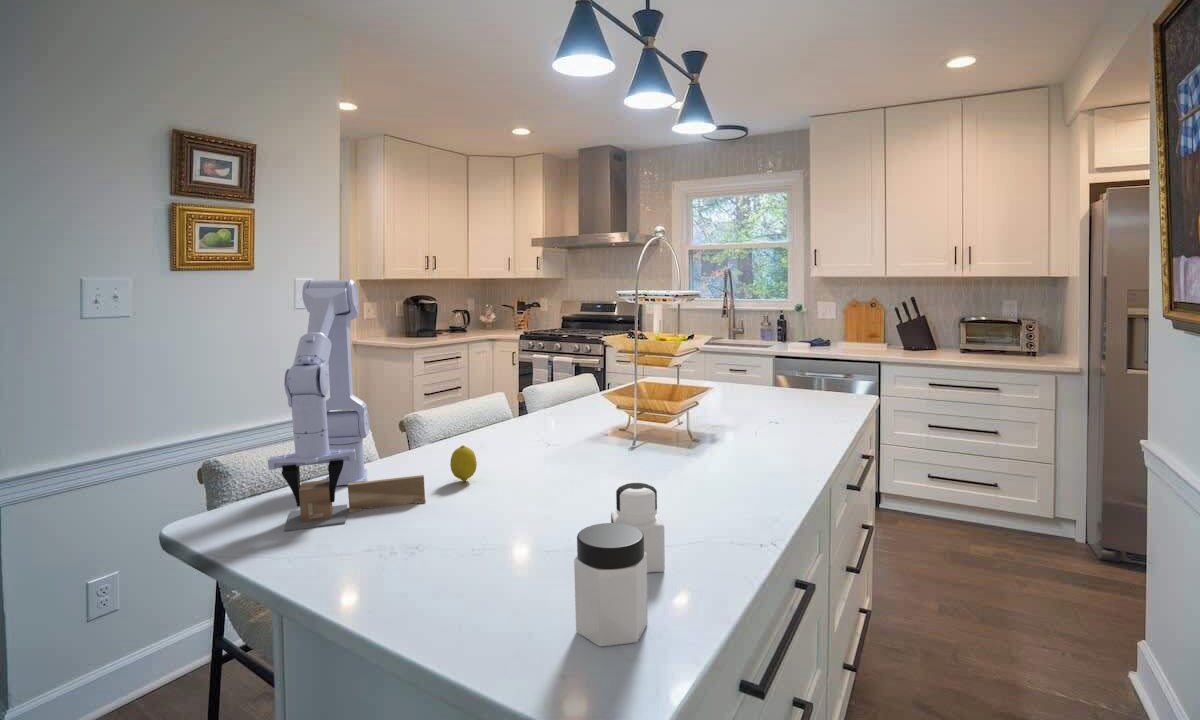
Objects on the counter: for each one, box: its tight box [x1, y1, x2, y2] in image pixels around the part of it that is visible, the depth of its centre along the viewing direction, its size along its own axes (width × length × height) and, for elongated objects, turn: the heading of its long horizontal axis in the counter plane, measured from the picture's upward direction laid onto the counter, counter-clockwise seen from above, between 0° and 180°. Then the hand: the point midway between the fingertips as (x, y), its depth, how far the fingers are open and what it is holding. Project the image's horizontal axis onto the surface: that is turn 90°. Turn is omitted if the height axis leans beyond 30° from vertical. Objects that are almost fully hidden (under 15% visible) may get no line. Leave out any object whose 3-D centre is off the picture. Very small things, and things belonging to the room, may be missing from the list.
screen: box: [347, 474, 426, 513], centre depth 126 cm, size 3×14×5 cm, turn 109°
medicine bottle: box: [610, 482, 666, 574], centre depth 97 cm, size 7×7×12 cm
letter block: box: [299, 479, 333, 523], centre depth 120 cm, size 5×5×6 cm
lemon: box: [449, 445, 478, 483], centre depth 140 cm, size 6×6×8 cm
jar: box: [573, 522, 649, 648], centre depth 79 cm, size 9×8×12 cm
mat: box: [283, 503, 348, 532], centre depth 120 cm, size 10×10×1 cm
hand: (316, 502), depth 120 cm, fingers closed on letter block, 5 cm apart
